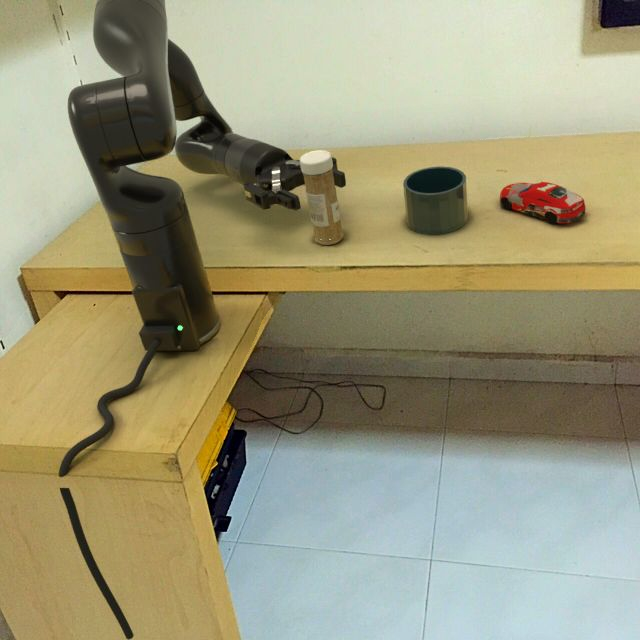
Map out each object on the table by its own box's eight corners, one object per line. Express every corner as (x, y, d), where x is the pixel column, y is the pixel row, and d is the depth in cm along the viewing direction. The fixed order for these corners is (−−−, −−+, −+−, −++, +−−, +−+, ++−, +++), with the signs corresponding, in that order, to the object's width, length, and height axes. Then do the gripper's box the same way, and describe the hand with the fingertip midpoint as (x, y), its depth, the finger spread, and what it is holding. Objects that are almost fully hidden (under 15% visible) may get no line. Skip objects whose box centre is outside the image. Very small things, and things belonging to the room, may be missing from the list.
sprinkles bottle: (350, 237, 112) (337, 154, 104) (325, 249, 110) (310, 165, 102) (332, 227, 115) (319, 146, 108) (308, 239, 114) (293, 157, 106)
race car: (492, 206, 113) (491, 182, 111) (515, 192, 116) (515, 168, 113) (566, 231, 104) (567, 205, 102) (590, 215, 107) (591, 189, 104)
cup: (467, 232, 108) (465, 192, 104) (405, 236, 110) (401, 196, 106) (467, 203, 115) (466, 164, 111) (409, 206, 117) (405, 168, 113)
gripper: (215, 160, 114) (277, 187, 103) (289, 127, 120) (355, 150, 109) (226, 204, 118) (287, 235, 107) (297, 170, 125) (361, 196, 113)
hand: (321, 192), depth 108 cm, fingers open, 8 cm apart
